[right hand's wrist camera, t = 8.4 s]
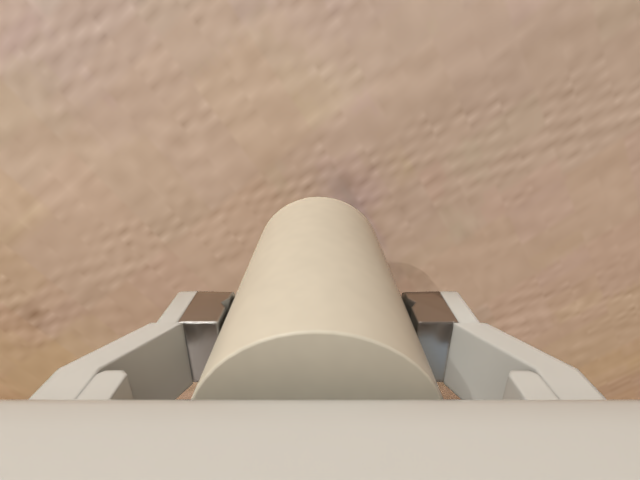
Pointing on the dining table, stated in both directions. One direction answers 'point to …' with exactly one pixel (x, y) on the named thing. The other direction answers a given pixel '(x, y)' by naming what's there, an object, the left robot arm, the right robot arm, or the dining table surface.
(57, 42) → the dining table surface
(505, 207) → the dining table surface
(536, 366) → the right robot arm
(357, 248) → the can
